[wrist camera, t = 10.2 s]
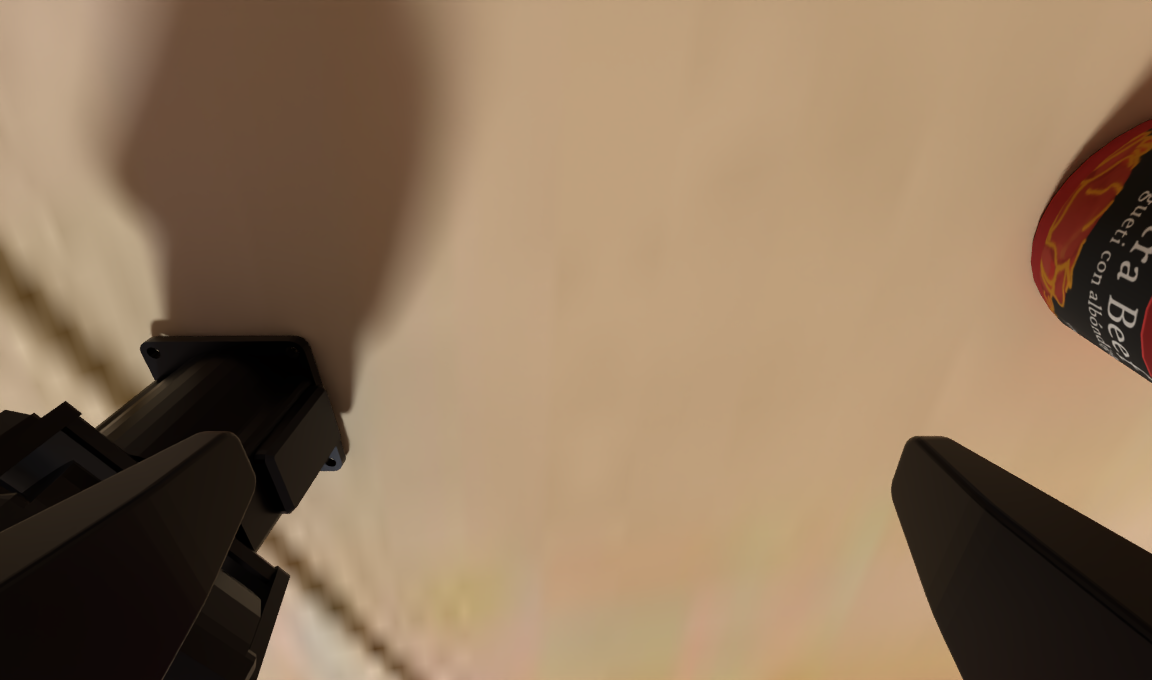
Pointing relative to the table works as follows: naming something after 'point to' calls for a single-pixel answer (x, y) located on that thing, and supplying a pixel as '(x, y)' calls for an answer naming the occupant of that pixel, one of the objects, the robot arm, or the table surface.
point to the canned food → (1103, 250)
